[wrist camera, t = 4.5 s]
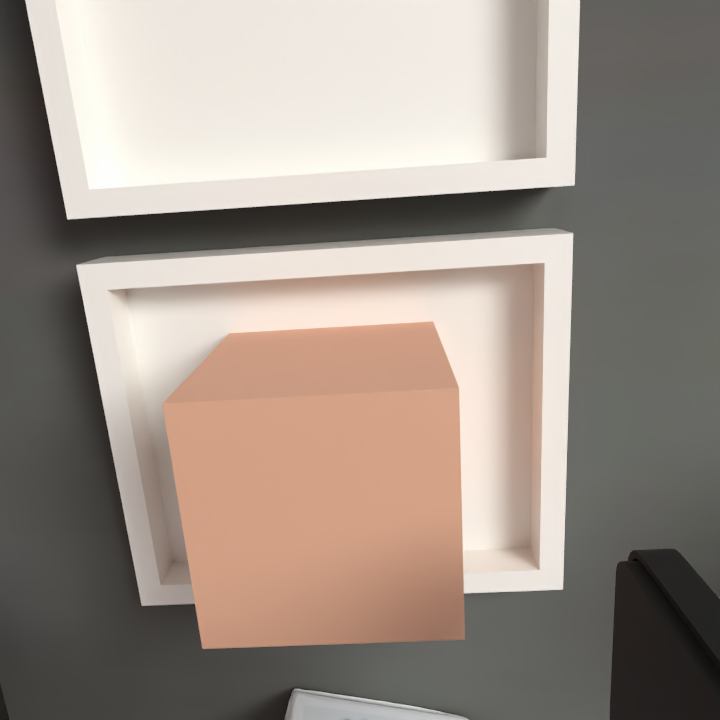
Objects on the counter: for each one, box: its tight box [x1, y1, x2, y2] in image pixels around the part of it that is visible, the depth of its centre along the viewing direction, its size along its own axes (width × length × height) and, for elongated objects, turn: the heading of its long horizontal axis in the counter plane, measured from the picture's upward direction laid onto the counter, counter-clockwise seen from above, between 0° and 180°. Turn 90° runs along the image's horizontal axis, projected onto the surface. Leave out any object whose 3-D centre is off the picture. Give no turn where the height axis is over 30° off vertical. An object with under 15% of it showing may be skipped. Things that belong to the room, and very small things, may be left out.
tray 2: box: [76, 228, 573, 606], centre depth 16 cm, size 9×11×2 cm
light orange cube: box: [162, 321, 465, 649], centre depth 14 cm, size 5×5×5 cm
